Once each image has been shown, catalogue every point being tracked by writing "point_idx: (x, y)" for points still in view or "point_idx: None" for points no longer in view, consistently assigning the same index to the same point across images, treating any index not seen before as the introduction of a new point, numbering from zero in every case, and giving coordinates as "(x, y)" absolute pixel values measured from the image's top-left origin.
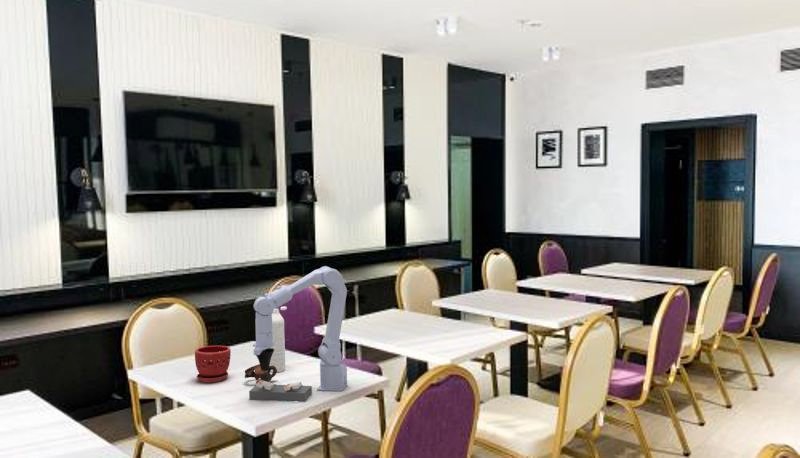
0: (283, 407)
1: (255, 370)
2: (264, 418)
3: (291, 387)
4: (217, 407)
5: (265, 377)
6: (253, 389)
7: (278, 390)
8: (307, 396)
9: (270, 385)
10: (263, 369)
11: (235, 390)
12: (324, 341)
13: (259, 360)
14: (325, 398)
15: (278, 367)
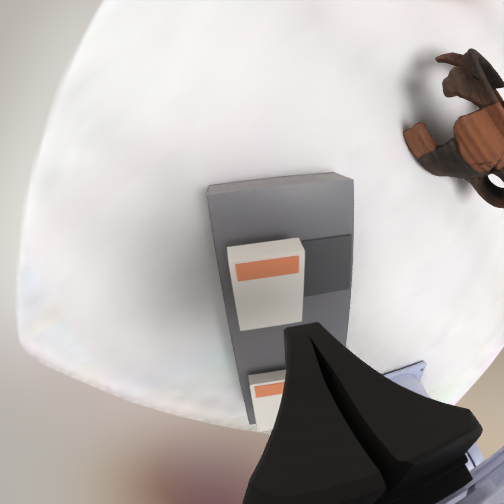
0: (170, 368)
1: (474, 118)
2: (62, 350)
3: (253, 407)
4: (68, 100)
5: (455, 167)
6: (245, 204)
7: (260, 341)
8: None
9: (259, 322)
10: (285, 351)
11: (334, 39)
12: (463, 496)
13: (281, 409)
14: None
15: None
